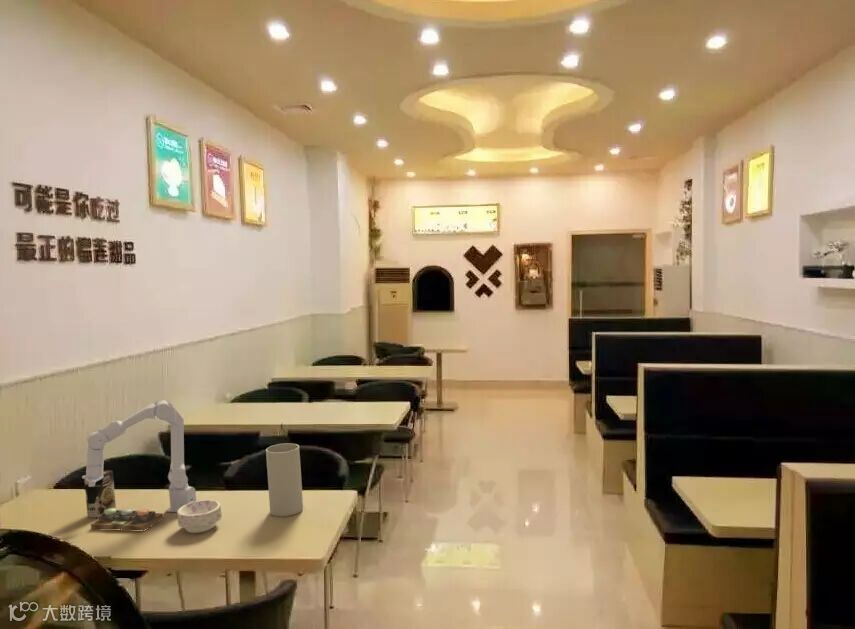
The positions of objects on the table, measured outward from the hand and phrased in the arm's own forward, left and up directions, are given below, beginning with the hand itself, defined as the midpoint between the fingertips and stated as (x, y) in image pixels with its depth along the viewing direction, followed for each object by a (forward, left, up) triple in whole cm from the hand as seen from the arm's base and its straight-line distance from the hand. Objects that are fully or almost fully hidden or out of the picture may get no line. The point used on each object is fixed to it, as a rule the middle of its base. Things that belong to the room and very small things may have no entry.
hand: (92, 500), depth 244 cm
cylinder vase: (-68, -21, -10) cm, 72 cm away
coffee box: (+7, -13, -11) cm, 18 cm away
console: (-11, -4, -10) cm, 16 cm away
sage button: (-4, -4, -7) cm, 9 cm away
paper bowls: (-42, -3, -11) cm, 44 cm away
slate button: (-11, -4, -7) cm, 13 cm away
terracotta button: (-18, -4, -7) cm, 20 cm away
